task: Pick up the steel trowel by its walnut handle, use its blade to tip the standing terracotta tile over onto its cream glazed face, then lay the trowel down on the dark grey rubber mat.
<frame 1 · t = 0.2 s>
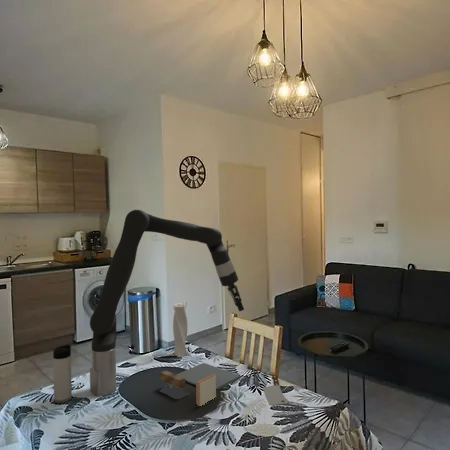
hand: (239, 307, 155), 31 cm above the table, tool tilted 20°, fingers open, 8 cm apart
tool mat: (207, 377, 158), on the table
tile: (206, 401, 137), on the table
skyscraper: (181, 355, 185), on the table
kitchen cleaver: (273, 391, 146), on the table
travel mug: (63, 399, 141), on the table
trowel: (174, 392, 145), on the table
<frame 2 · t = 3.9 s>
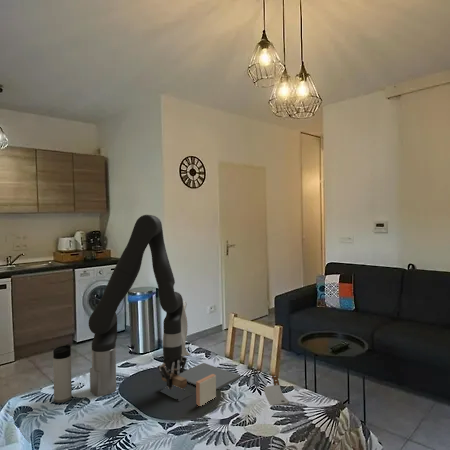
hand: (173, 385, 145), 2 cm above the table, tool pointing down, fingers closed on trowel, 2 cm apart
trowel: (175, 393, 144), on the table, touching gripper
everything else where it was.
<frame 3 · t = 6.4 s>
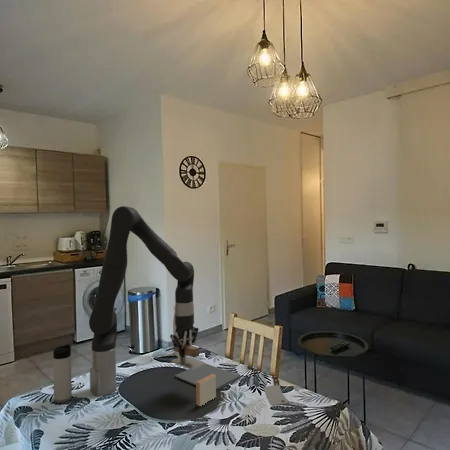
hand: (185, 355, 145), 15 cm above the table, tool pointing down, fingers closed on trowel, 2 cm apart
trowel: (188, 363, 144), point 12 cm above the table, touching gripper
everything else where it was.
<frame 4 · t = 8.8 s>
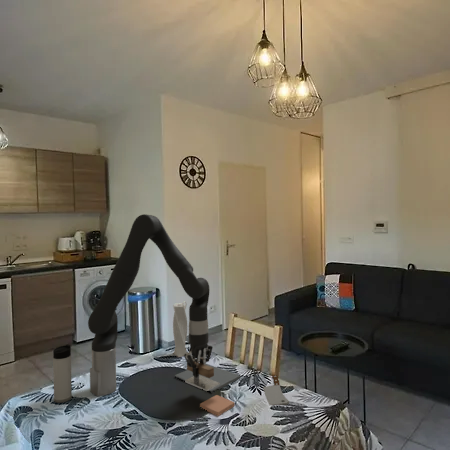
hand: (199, 375, 140), 9 cm above the table, tool pointing down, fingers closed on trowel, 2 cm apart
tile: (208, 401, 137), on the table, tilted 90°
trowel: (202, 383, 139), point 6 cm above the table, touching gripper
everything else where it was.
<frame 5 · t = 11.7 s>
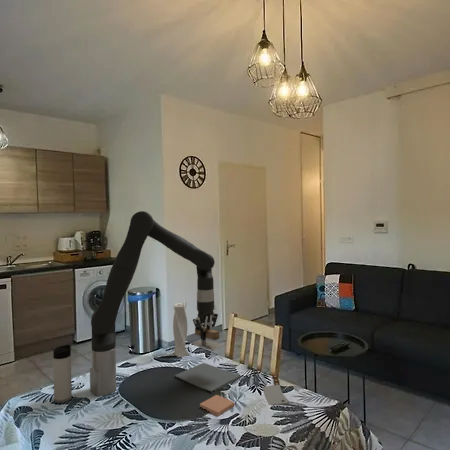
hand: (205, 338, 158), 17 cm above the table, tool pointing down, fingers closed on trowel, 2 cm apart
trowel: (208, 345, 157), point 14 cm above the table, touching gripper
everything else where it was.
when the fingers open (4 cm above the table, at t = 14.3 s): trowel stays where it is, resting on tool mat.
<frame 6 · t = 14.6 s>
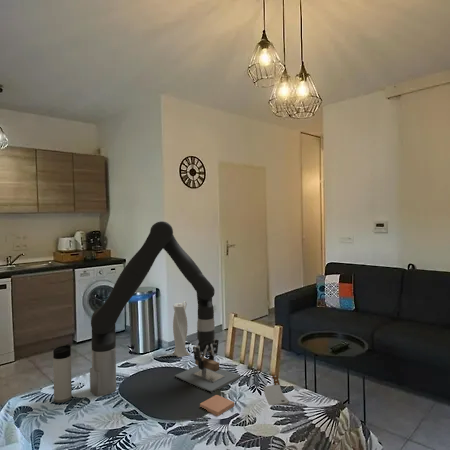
hand: (206, 366, 158), 5 cm above the table, tool pointing down, fingers open, 5 cm apart
trowel: (208, 376, 157), point 1 cm above the table, touching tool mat
everything else where it was.
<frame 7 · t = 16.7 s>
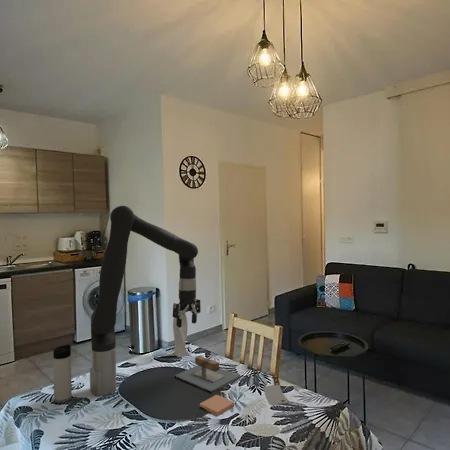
hand: (186, 325, 159), 23 cm above the table, tool pointing down, fingers open, 8 cm apart
nothing on the table moved.
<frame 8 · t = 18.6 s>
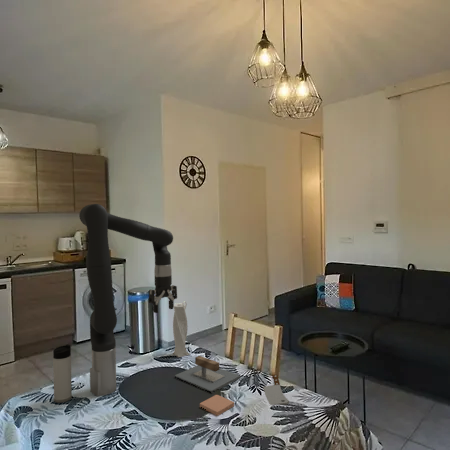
hand: (163, 310, 162), 28 cm above the table, tool pointing down, fingers open, 8 cm apart
nothing on the table moved.
at the end: tile tilted 90°; trowel inside the target area on the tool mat (1.0 cm from its centre), point 1.0 cm above the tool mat's base; the gripper is holding nothing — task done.
